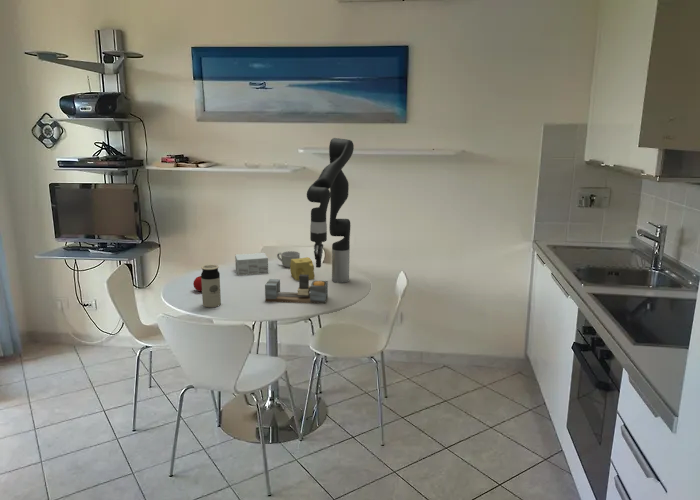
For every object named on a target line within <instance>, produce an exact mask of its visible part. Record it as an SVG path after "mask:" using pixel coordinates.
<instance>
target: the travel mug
mask: <svg viewBox="0 0 700 500" xmlns="http://www.w3.org/2000/svg"><path fill="white" fill-rule="evenodd" d="M219 268H220V266H219V265H217V264H205V265H202V266H201V270H202V272H201V275H200V276H201V281H202V292H201V295H202V297H201V298H202V306H203V307H205V308H215V307H217V308H218V307H219V306H220V305H221V304H222V299H221V296H222V295H221V280H220V279H221V276H220V274H221V273H220V271H219Z"/></svg>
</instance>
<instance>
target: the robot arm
mask: <svg viewBox="0 0 700 500" xmlns="http://www.w3.org/2000/svg"><path fill="white" fill-rule="evenodd" d="M354 147H355V145H354V143H353V141H352V140H351V139H348V138H347V139H346V138H341V137H340V138H338V137H337V138H336V137H333V138H331V139H330V142H329V148H328V152H329V153H328V154H329V156H328V157H329V164H328V165H326V166H325V167H324V168H323V169H322V170H321V172H320V174H319V177H317V179H316V180H315V181H314V182H313V183H312V184H311V185H310V186H309V187H308V189H307V191H306V199H307V200H308V201H309V202H311V203H318V204H319V203H320V204H319V206H317V207H313V208H311V210H310V228H309V229H310V230H309V231H310V233H309V234H310V238H309V239H310V241H311V243H312V242H313V243H314V245H313V255H314V260H315V268H318V269H319V268H321V267H322V258H323V252H324V251H323V249H324V244H323V243H325V242H326V241H328V239H327V238H328V237H327V235H328V231H327V230H328V226H327V225H328V224H327V211H328V208H329V207H328V206H329V205H330V208H329V212H330V213H329V235H330V236H331V237H343V238H341V239H340V240H338V241H335V242H333V243H332V244H331V281H332V282H334V283H339V284H340V283H347V282H349V281H350V257H351V256H350V253H351V252H350V250H351V249H350V246H351V245H350V239H351V238H350V237H351V220H350V219H349V218H337V216H338V213H339V211H340V209H341V208H342V207H343V205H344V204H345V202H346V201H347V199H348V197H349V191H350V190H349V186H350V185H349V180H348V179H347V177H346V175H345V173H344V172H343V168H344V167H345V165H346V164H347V163H348V161H349V160H350V159H351V157H352V155H353V153H354Z"/></svg>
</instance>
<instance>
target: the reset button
mask: <svg viewBox="0 0 700 500" xmlns="http://www.w3.org/2000/svg"><path fill="white" fill-rule="evenodd" d="M323 281H324V280H315V282H314V285H316V286H324V282H323Z"/></svg>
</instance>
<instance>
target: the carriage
mask: <svg viewBox="0 0 700 500" xmlns="http://www.w3.org/2000/svg"><path fill="white" fill-rule="evenodd" d="M309 281H310V280H309V275H302V274H300V276H299V281H298V282H299V283H298V284H299V285H298V288H297V293H298V295H309V293H310V286H311V285H309V284H310V283H309Z"/></svg>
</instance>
